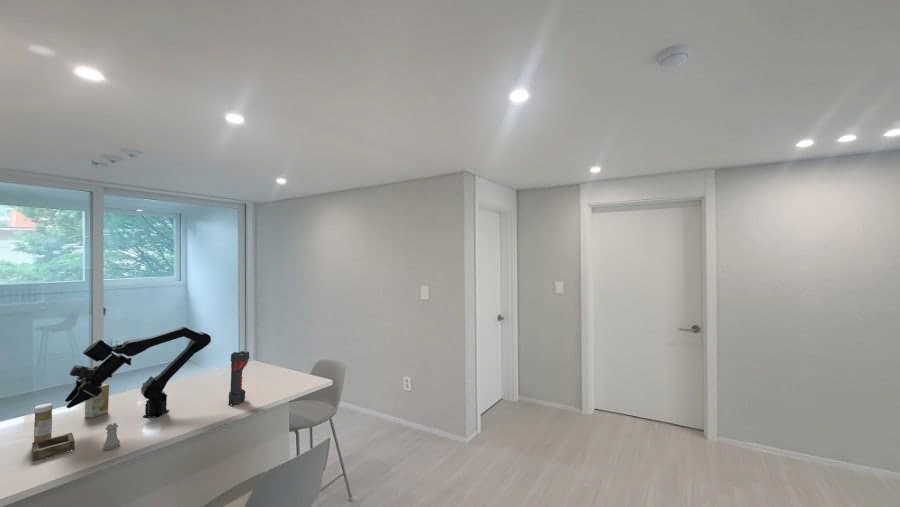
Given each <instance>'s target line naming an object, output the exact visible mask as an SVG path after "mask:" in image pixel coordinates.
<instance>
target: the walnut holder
mask: <svg viewBox="0 0 900 507" xmlns="http://www.w3.org/2000/svg"><path fill="white" fill-rule="evenodd" d="M75 444H76V441H75V437H74V434H73V432H69V433H68V432H67V433H64V434H59V435H57V436H53V437H52V436H51V438H48V439H44V440H40V441H36V442H34V441H33V442H32V444H31V454H32V455H31V456H32V462H36V460H37V461H40V459H41V460H44V459H48V458H51V457H55V456H58V454H59V455H62V454H65V452H66V453H69V452H72V451H71V450H73V451H75V449H76V448H75V446H76V445H75ZM68 451H69V452H68ZM54 455H55V456H54ZM47 457H48V458H47Z"/></svg>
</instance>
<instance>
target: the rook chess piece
mask: <svg viewBox="0 0 900 507" xmlns="http://www.w3.org/2000/svg"><path fill="white" fill-rule="evenodd" d="M117 428H119V425H118V423H117V422H113V423H109V424H107V426H106V427H105V430H106V431H107V432H106V434H107V435H106V439H105V440H106V441H104V443H103V445H102V449H103V450H105V451H111V450H110V449H112V450H114V448H115V449H117V448H118V447H119V446H120V445H121V443H120V439H119V438H118V434H117V432H118V430H117ZM116 447H117V448H116Z"/></svg>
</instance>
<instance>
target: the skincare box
mask: <svg viewBox="0 0 900 507" xmlns="http://www.w3.org/2000/svg"><path fill="white" fill-rule="evenodd" d="M101 389H102V392H101V393H100V394H99V395H98V396H97V397H96V396H95V397H94V398H91V399H89V400H86V401H84V418H91V419H92V418H95V417H99V416H102V415H105V414H107V413H109V400H110V399H109V396H110V384H107V383H102V386H101Z"/></svg>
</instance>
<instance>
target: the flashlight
mask: <svg viewBox="0 0 900 507" xmlns="http://www.w3.org/2000/svg"><path fill="white" fill-rule="evenodd" d="M249 360H250V351H244V350H242V351H239V352H237V351H234V352H232V353H231V354H230V363H231V364H230V390H229V392H228V406H232V405H231V404H234V405H236V404H237V405H240V404H239V403H242V402H243V401H244V402H245V400H246V398H245V397H246V390H244V389H243V370H245V367H246V366H247V364H248V362H249ZM244 402H243V403H244Z"/></svg>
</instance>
